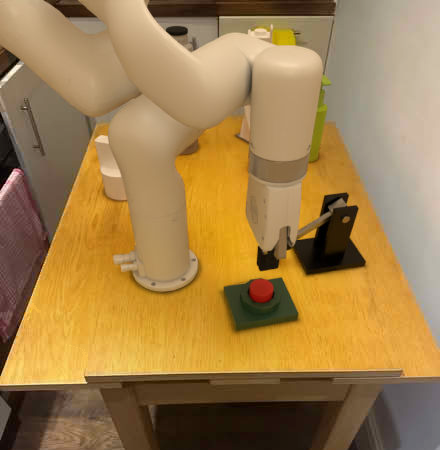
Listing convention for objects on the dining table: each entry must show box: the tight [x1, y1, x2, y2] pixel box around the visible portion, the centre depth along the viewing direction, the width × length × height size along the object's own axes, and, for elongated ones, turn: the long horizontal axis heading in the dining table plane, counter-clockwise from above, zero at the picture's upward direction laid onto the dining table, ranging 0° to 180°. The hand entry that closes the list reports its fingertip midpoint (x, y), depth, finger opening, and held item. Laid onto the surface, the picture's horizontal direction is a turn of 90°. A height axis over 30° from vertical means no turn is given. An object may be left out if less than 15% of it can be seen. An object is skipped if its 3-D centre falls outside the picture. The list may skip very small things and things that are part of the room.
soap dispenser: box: [308, 73, 332, 163], centre depth 100 cm, size 6×7×20 cm
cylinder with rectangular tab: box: [94, 134, 127, 201], centre depth 92 cm, size 9×9×12 cm
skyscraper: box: [235, 23, 274, 144], centre depth 104 cm, size 8×8×28 cm
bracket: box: [292, 191, 367, 276], centre depth 77 cm, size 12×9×13 cm
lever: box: [287, 198, 348, 252], centre depth 75 cm, size 14×3×3 cm
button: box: [249, 278, 274, 303], centre depth 69 cm, size 4×4×2 cm
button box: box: [223, 276, 300, 332], centre depth 71 cm, size 11×9×4 cm
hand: (267, 266), depth 65 cm, fingers closed
